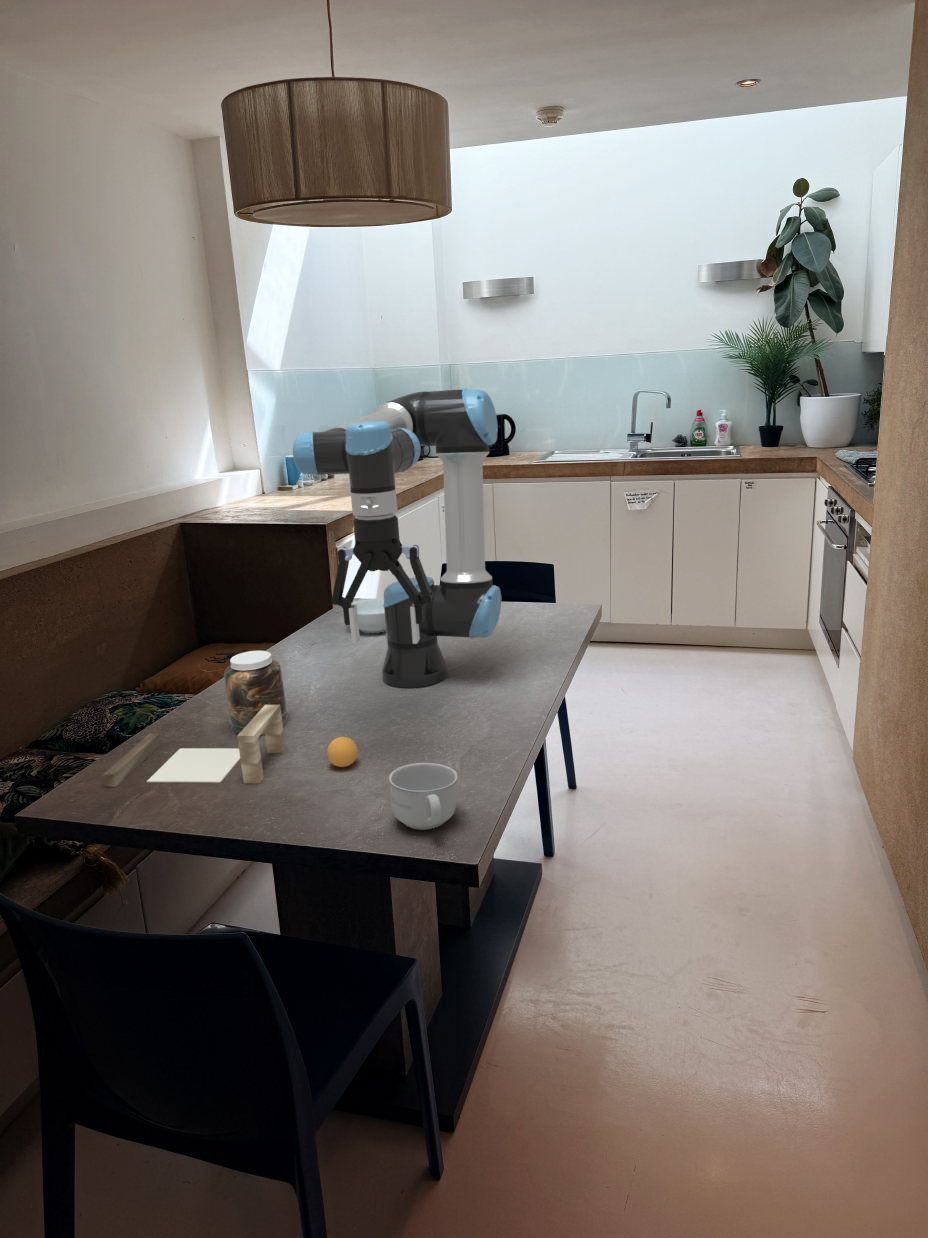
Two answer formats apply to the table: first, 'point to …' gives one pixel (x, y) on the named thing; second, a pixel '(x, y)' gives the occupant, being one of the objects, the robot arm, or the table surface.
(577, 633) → the table surface
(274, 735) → the bridge
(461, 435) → the robot arm
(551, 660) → the table surface
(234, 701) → the jar
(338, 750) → the ball
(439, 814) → the teacup
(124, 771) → the stopper
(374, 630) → the cereal bowl
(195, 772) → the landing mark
